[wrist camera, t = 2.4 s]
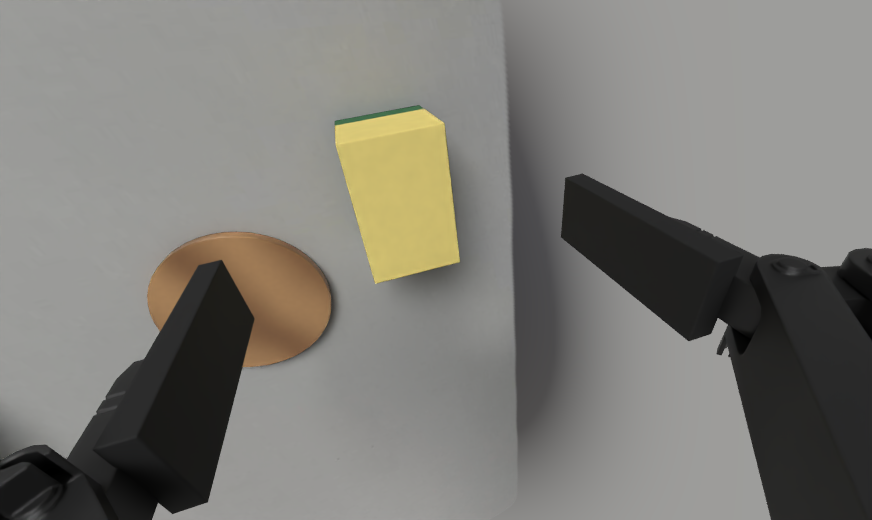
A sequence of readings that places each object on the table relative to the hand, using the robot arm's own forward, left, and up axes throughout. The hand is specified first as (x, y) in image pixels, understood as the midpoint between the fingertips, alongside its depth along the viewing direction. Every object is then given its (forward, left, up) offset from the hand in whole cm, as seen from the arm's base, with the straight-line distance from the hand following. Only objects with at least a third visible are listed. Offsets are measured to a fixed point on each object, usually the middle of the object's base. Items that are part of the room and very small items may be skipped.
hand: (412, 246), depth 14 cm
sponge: (0, 0, -8) cm, 8 cm away
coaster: (+12, 0, -8) cm, 14 cm away
